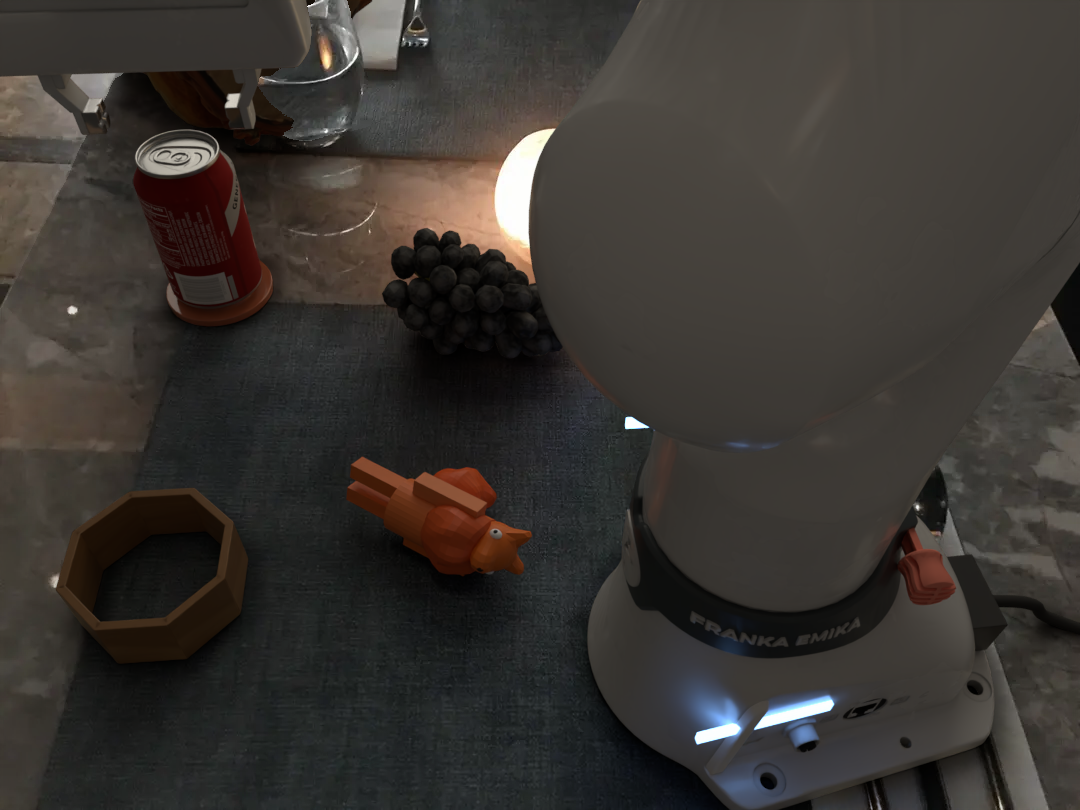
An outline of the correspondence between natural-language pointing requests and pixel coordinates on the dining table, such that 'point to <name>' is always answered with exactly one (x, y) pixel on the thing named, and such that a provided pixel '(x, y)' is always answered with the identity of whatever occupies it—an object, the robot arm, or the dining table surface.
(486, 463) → the dining table surface
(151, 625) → the can holder
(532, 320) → the fruit
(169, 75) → the sculpture
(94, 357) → the dining table surface
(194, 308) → the coaster
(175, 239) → the soda can
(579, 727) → the dining table surface
